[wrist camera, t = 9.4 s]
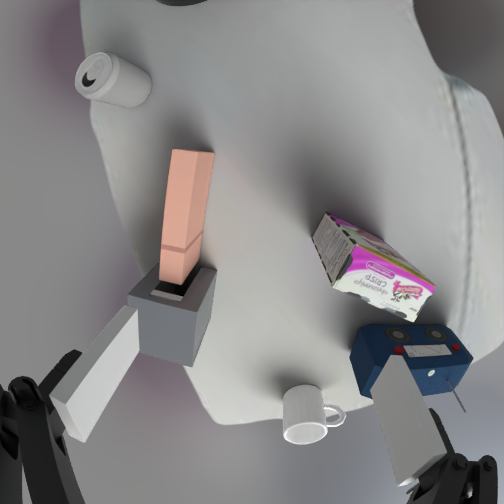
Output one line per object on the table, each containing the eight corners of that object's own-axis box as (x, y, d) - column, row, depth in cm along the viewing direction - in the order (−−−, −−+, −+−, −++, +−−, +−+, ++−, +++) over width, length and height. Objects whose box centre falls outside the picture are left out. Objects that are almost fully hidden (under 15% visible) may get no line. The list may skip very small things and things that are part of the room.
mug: (340, 402, 51) (347, 437, 42) (285, 410, 53) (286, 446, 44) (340, 377, 49) (349, 415, 40) (280, 387, 51) (280, 425, 41)
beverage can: (111, 95, 35) (64, 83, 23) (136, 64, 33) (94, 41, 22) (135, 116, 36) (89, 107, 25) (162, 83, 34) (123, 62, 23)
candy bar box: (386, 240, 39) (439, 286, 24) (371, 267, 41) (414, 325, 26) (324, 208, 39) (356, 242, 23) (309, 238, 40) (330, 290, 25)
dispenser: (162, 258, 43) (127, 294, 31) (217, 270, 43) (197, 312, 31) (160, 306, 46) (130, 349, 34) (210, 318, 46) (192, 367, 34)
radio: (450, 319, 43) (501, 384, 24) (434, 354, 46) (474, 422, 27) (359, 317, 44) (397, 404, 25) (346, 356, 47) (370, 443, 28)
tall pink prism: (194, 149, 37) (172, 149, 28) (215, 152, 37) (198, 152, 28) (180, 255, 42) (158, 279, 34) (199, 259, 42) (181, 285, 34)
